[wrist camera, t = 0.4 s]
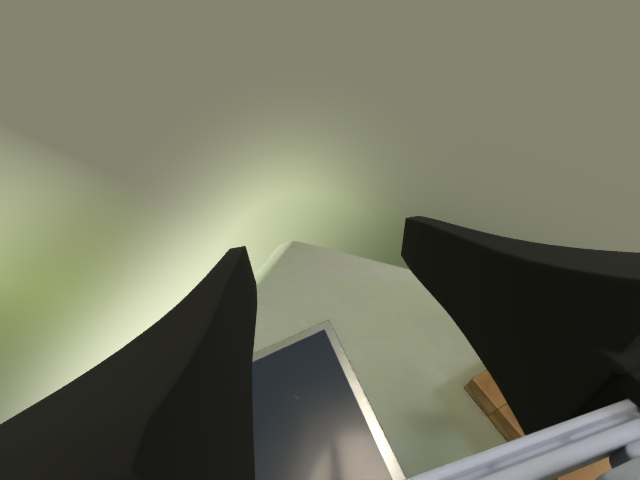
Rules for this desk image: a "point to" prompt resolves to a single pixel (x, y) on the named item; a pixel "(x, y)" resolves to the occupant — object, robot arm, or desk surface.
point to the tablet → (315, 414)
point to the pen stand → (507, 424)
